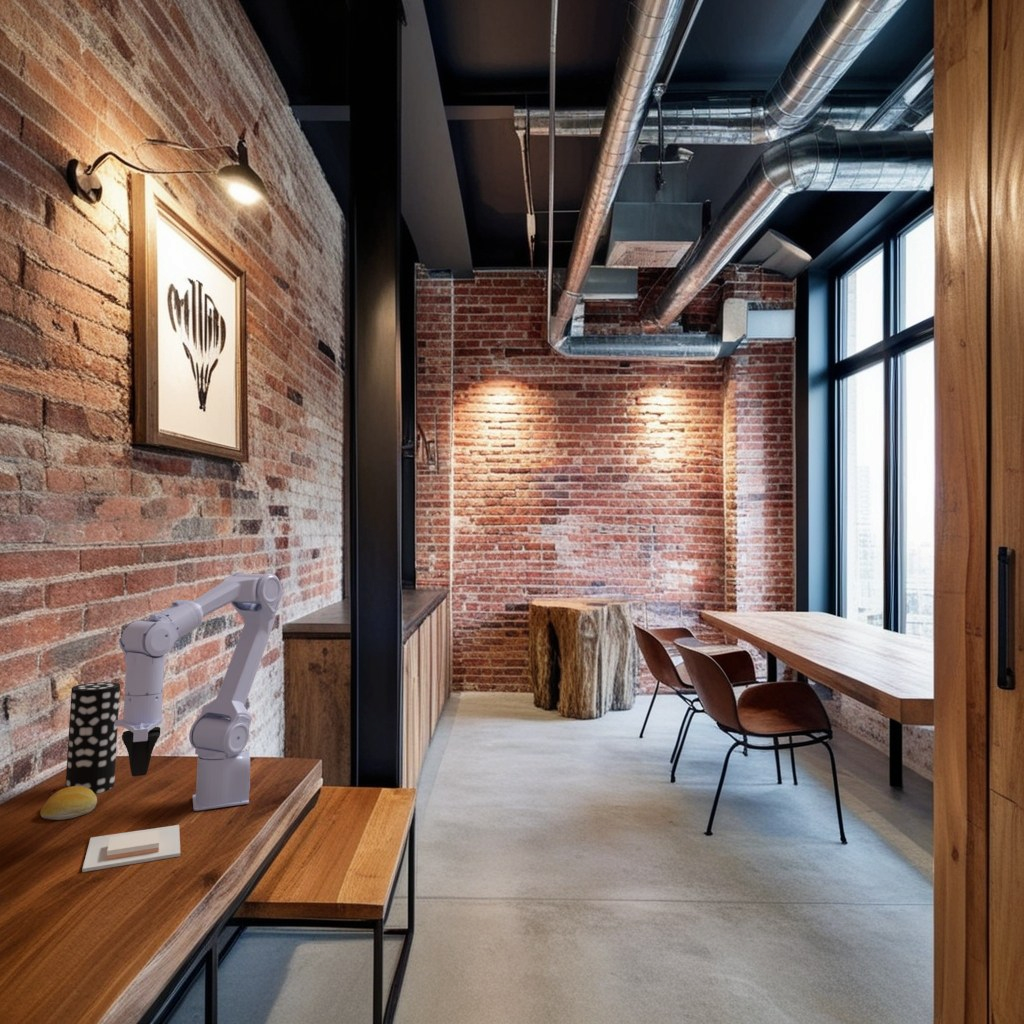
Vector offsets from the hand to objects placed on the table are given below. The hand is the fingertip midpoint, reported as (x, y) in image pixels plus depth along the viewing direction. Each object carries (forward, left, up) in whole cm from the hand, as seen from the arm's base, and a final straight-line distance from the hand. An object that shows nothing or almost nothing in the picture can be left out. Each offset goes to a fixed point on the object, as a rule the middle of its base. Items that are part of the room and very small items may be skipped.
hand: (139, 774), depth 113 cm
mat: (0, +5, -10) cm, 11 cm away
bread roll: (+11, -17, -10) cm, 23 cm away
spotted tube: (+9, -29, -10) cm, 32 cm away
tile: (0, +4, -9) cm, 10 cm away
